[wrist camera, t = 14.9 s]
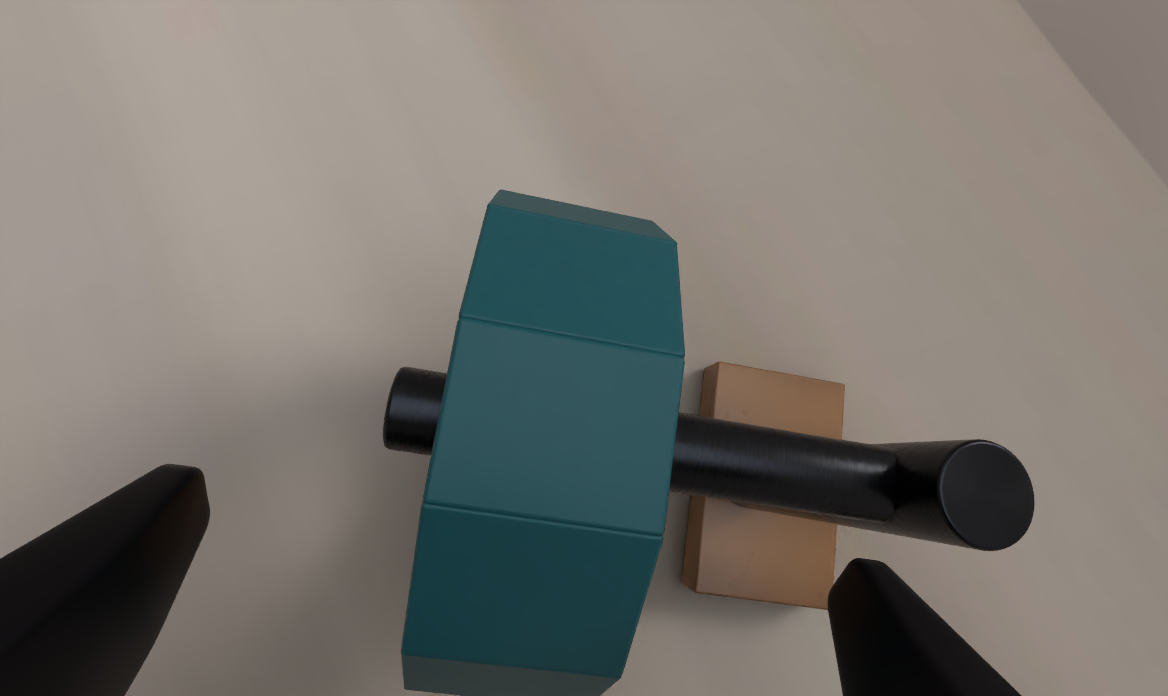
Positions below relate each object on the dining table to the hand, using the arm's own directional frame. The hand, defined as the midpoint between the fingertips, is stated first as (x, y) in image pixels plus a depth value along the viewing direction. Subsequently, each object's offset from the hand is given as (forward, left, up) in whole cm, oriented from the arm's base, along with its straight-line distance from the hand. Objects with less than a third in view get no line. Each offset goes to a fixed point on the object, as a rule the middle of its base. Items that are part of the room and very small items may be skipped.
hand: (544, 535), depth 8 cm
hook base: (+2, -9, -13) cm, 16 cm away
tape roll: (+2, 0, -12) cm, 12 cm away
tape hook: (+2, -3, -13) cm, 14 cm away
